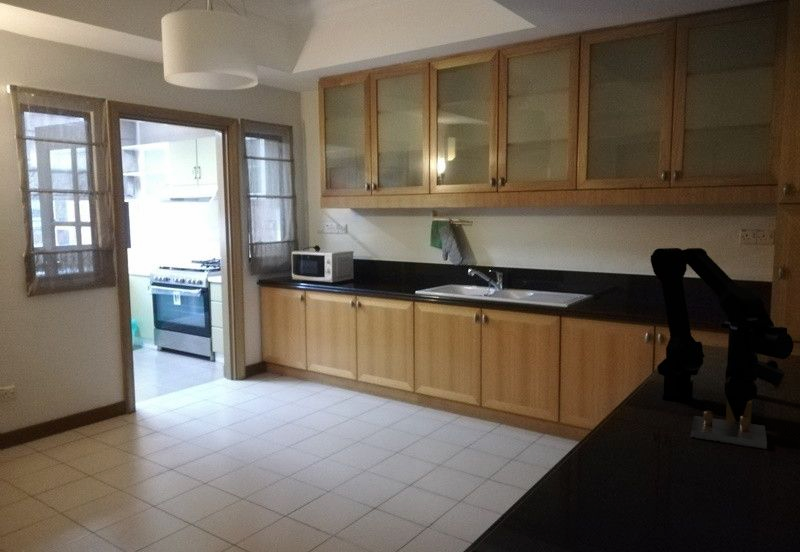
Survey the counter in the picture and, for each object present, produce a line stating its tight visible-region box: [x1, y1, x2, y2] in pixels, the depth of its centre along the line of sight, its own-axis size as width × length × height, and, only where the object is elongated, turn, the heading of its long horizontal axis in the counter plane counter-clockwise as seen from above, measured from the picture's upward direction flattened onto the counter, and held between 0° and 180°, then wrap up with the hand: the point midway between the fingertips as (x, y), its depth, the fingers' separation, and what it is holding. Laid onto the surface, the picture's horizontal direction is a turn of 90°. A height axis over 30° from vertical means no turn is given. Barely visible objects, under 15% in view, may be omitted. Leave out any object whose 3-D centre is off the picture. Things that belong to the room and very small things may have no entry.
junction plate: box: [690, 410, 768, 450], centre depth 132 cm, size 14×11×4 cm
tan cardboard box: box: [725, 399, 753, 424], centre depth 142 cm, size 5×5×5 cm
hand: (738, 415), depth 142 cm, fingers open, 9 cm apart
